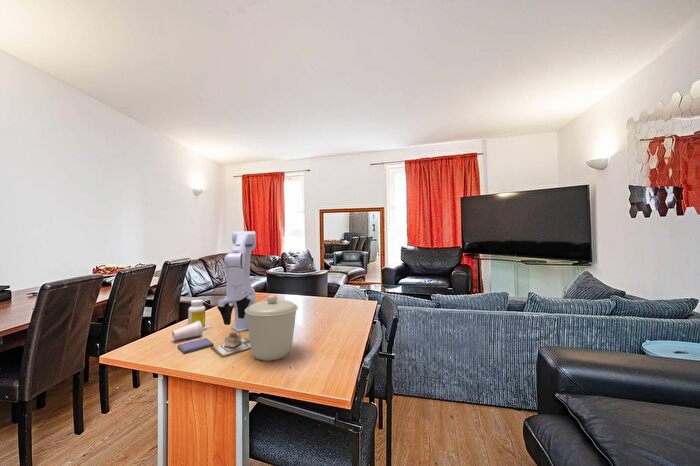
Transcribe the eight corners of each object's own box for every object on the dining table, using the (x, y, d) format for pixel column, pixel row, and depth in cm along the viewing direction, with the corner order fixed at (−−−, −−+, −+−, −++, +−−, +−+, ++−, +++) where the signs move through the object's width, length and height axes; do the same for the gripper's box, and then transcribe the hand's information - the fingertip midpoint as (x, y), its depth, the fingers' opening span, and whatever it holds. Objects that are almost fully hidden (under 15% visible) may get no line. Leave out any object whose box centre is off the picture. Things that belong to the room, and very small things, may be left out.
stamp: (232, 343, 105) (232, 331, 105) (241, 344, 104) (241, 332, 104) (223, 347, 101) (223, 335, 101) (233, 349, 100) (233, 336, 100)
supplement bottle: (208, 328, 123) (209, 300, 123) (194, 333, 117) (194, 303, 117) (198, 326, 126) (199, 298, 126) (184, 330, 120) (185, 301, 120)
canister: (232, 362, 90) (233, 298, 91) (263, 342, 108) (264, 288, 108) (281, 369, 86) (282, 302, 86) (306, 347, 103) (306, 291, 103)
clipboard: (246, 338, 111) (246, 336, 111) (259, 346, 104) (259, 344, 104) (210, 348, 102) (210, 346, 102) (222, 357, 94) (222, 355, 94)
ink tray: (206, 340, 109) (206, 337, 109) (213, 346, 104) (213, 343, 104) (177, 347, 102) (177, 344, 102) (183, 354, 97) (183, 351, 97)
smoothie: (177, 344, 105) (214, 332, 115) (174, 327, 106) (212, 317, 116) (172, 343, 109) (208, 332, 120) (169, 327, 110) (206, 317, 120)
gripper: (238, 281, 111) (238, 314, 111) (211, 287, 97) (210, 326, 97) (253, 282, 109) (253, 316, 109) (227, 289, 95) (227, 328, 95)
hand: (234, 321), depth 102 cm, fingers open, 7 cm apart
